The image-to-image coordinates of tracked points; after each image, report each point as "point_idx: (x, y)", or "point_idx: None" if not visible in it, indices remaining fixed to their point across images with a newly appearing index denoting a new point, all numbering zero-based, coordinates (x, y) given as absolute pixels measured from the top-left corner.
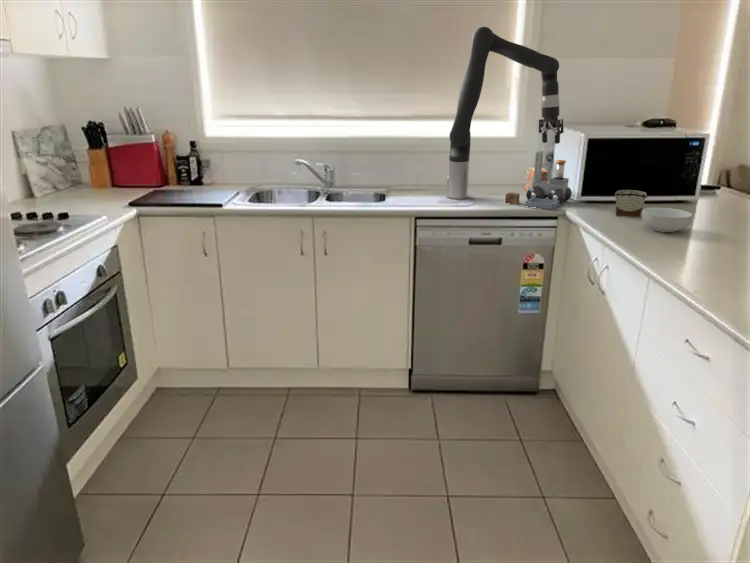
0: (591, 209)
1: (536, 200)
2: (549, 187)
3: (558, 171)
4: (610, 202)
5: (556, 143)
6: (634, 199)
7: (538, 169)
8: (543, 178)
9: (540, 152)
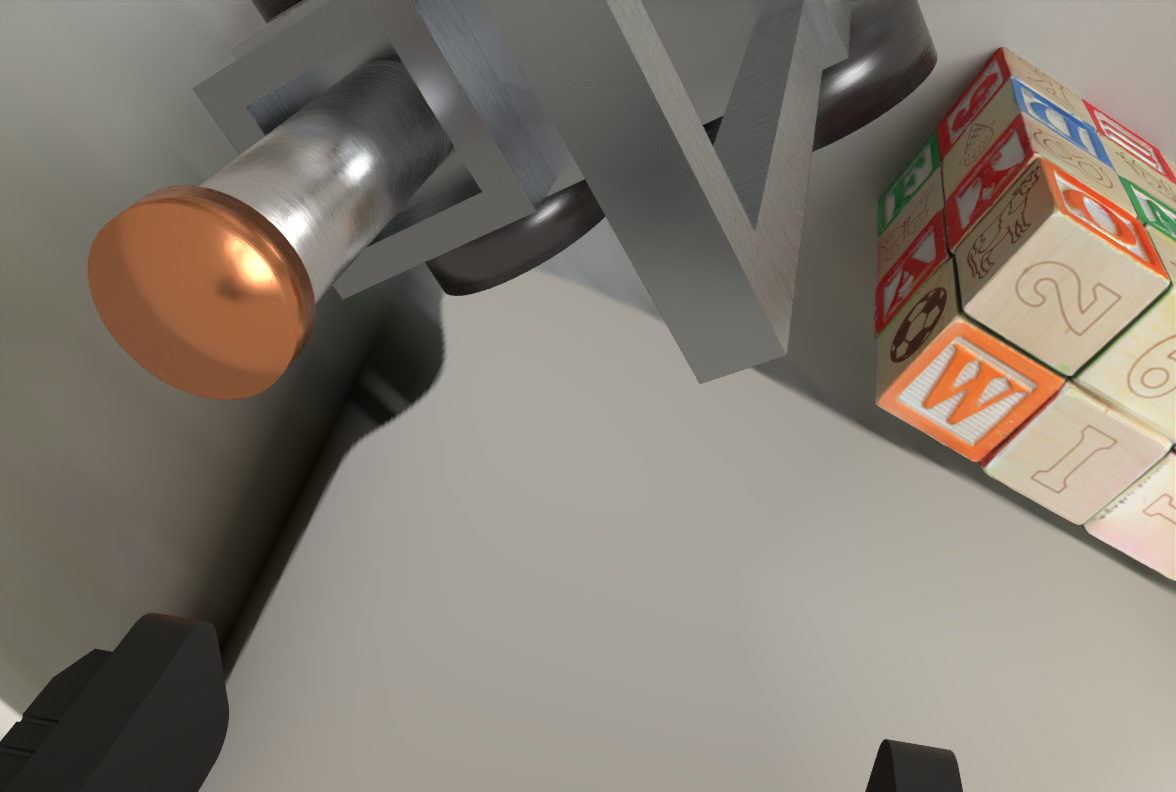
0: (79, 105)
1: None
2: None
3: (265, 140)
4: (309, 487)
5: (156, 628)
6: None
7: (788, 71)
8: (919, 283)
9: (556, 120)
